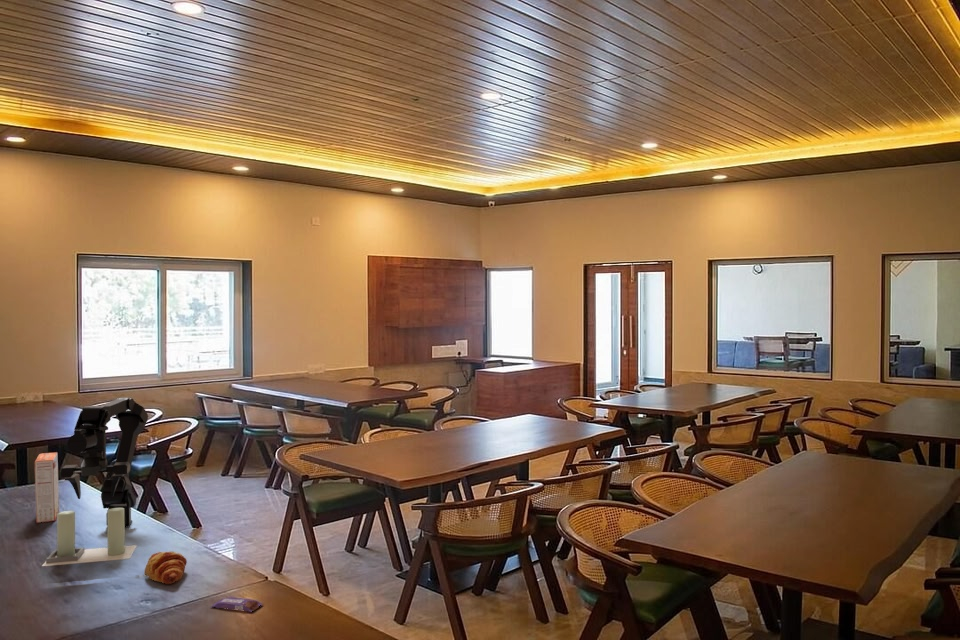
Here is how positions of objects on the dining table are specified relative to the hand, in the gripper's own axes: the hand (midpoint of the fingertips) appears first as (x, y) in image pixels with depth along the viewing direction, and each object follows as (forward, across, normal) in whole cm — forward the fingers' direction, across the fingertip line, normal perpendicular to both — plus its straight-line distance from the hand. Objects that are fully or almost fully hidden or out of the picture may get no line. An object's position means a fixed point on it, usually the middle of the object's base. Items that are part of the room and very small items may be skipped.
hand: (95, 497), depth 226 cm
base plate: (+13, +3, -18) cm, 23 cm away
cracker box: (+13, -22, +32) cm, 41 cm away
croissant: (+14, +25, -38) cm, 47 cm away
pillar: (+12, -4, -18) cm, 22 cm away
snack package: (+14, +44, -65) cm, 80 cm away
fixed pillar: (+12, +9, -18) cm, 24 cm away
